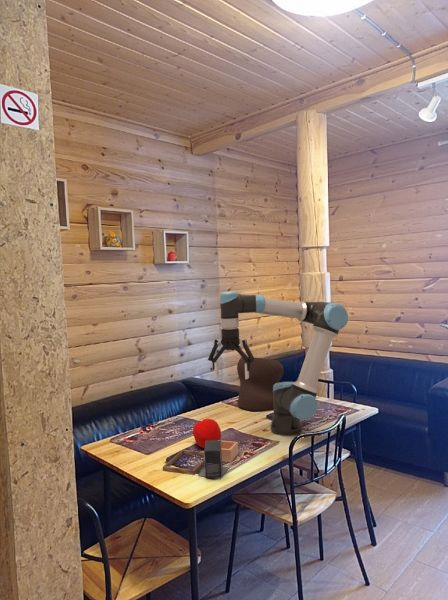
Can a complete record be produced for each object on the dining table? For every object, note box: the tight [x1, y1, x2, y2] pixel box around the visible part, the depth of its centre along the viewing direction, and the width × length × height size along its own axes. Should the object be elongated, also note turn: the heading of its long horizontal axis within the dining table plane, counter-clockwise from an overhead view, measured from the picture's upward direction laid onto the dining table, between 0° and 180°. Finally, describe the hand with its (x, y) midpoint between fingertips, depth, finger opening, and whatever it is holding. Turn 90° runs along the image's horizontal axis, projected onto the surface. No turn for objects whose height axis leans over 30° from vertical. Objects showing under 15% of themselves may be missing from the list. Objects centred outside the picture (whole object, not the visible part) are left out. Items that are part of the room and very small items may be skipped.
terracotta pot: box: [220, 439, 239, 463], centre depth 184 cm, size 9×9×5 cm
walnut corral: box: [162, 449, 205, 476], centre depth 179 cm, size 14×18×2 cm
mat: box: [197, 466, 229, 480], centre depth 170 cm, size 9×9×1 cm
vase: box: [236, 356, 285, 412], centre depth 254 cm, size 27×27×30 cm
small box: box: [203, 439, 223, 479], centre depth 169 cm, size 11×6×10 cm, turn 0°
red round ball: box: [192, 418, 222, 449], centre depth 197 cm, size 13×13×13 cm
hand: (231, 377), depth 188 cm, fingers open, 13 cm apart
